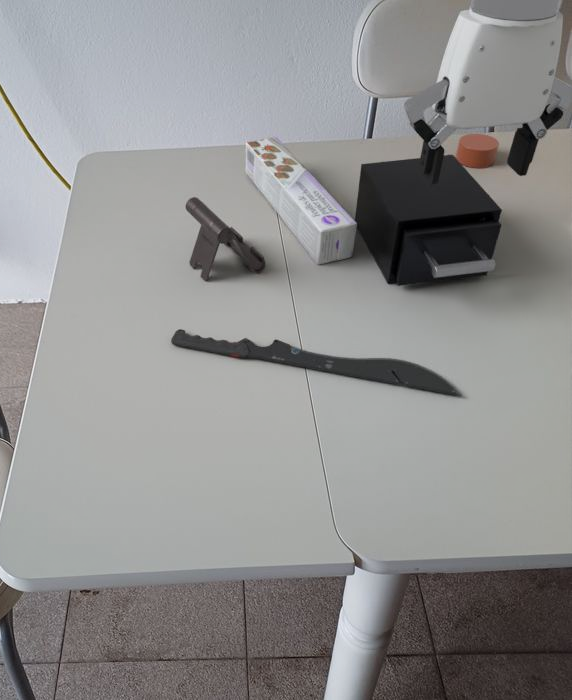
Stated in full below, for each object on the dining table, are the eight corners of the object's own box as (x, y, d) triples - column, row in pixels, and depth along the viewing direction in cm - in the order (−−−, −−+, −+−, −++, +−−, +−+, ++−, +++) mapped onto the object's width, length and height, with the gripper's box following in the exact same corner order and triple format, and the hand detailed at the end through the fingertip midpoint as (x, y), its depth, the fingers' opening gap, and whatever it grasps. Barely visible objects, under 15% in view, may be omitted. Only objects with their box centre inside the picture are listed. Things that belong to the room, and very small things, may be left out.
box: (354, 257, 86) (358, 220, 82) (318, 266, 84) (320, 229, 81) (274, 168, 105) (275, 134, 101) (244, 174, 104) (243, 140, 100)
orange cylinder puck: (484, 149, 107) (488, 131, 105) (501, 166, 102) (505, 148, 100) (449, 153, 106) (453, 135, 104) (464, 169, 102) (468, 152, 100)
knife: (462, 372, 69) (464, 368, 69) (461, 400, 66) (462, 396, 66) (182, 323, 77) (181, 319, 76) (169, 345, 74) (169, 342, 74)
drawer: (503, 297, 77) (520, 245, 72) (410, 308, 76) (421, 257, 71) (444, 218, 90) (455, 170, 85) (365, 227, 89) (371, 179, 84)
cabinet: (484, 272, 82) (502, 209, 76) (387, 284, 81) (398, 221, 75) (439, 213, 93) (452, 154, 87) (354, 223, 92) (361, 163, 86)
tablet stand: (266, 271, 84) (266, 215, 78) (213, 291, 82) (209, 234, 76) (232, 239, 90) (231, 185, 84) (182, 257, 87) (176, 202, 82)
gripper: (585, -20, 61) (532, 151, 72) (407, -7, 60) (383, 165, 71) (633, 1, 55) (567, 183, 67) (438, 16, 54) (405, 199, 66)
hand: (472, 174), depth 69 cm, fingers open, 9 cm apart
